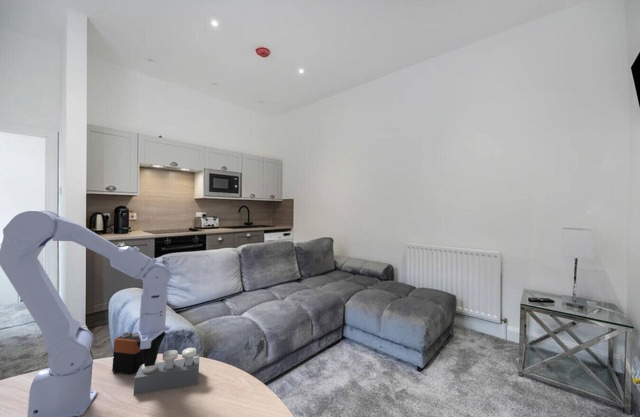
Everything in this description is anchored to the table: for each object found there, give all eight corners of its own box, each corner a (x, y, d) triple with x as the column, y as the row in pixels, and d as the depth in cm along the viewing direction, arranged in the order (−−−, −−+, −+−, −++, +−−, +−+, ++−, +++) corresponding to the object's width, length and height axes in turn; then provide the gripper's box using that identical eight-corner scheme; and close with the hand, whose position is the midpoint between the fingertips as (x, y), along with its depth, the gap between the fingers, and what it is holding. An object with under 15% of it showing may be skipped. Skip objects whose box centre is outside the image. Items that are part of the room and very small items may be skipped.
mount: (133, 395, 64) (134, 377, 64) (139, 380, 69) (140, 364, 70) (197, 383, 69) (198, 368, 69) (198, 371, 75) (199, 356, 75)
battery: (133, 375, 71) (136, 337, 72) (110, 373, 72) (113, 335, 73) (146, 367, 76) (148, 331, 76) (124, 364, 77) (127, 329, 77)
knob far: (180, 375, 69) (181, 354, 69) (181, 368, 72) (183, 348, 72) (194, 373, 70) (196, 352, 70) (195, 366, 73) (196, 346, 73)
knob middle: (160, 378, 67) (161, 357, 67) (162, 371, 70) (164, 351, 70) (175, 376, 68) (176, 355, 69) (177, 369, 72) (178, 349, 72)
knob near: (138, 390, 65) (140, 369, 66) (142, 382, 68) (143, 362, 69) (154, 388, 67) (156, 366, 67) (157, 380, 70) (158, 360, 70)
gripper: (166, 319, 63) (162, 378, 63) (174, 301, 77) (171, 349, 76) (131, 322, 60) (126, 383, 60) (146, 302, 74) (142, 352, 73)
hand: (149, 364), depth 68 cm, fingers closed, pressing on knob near
